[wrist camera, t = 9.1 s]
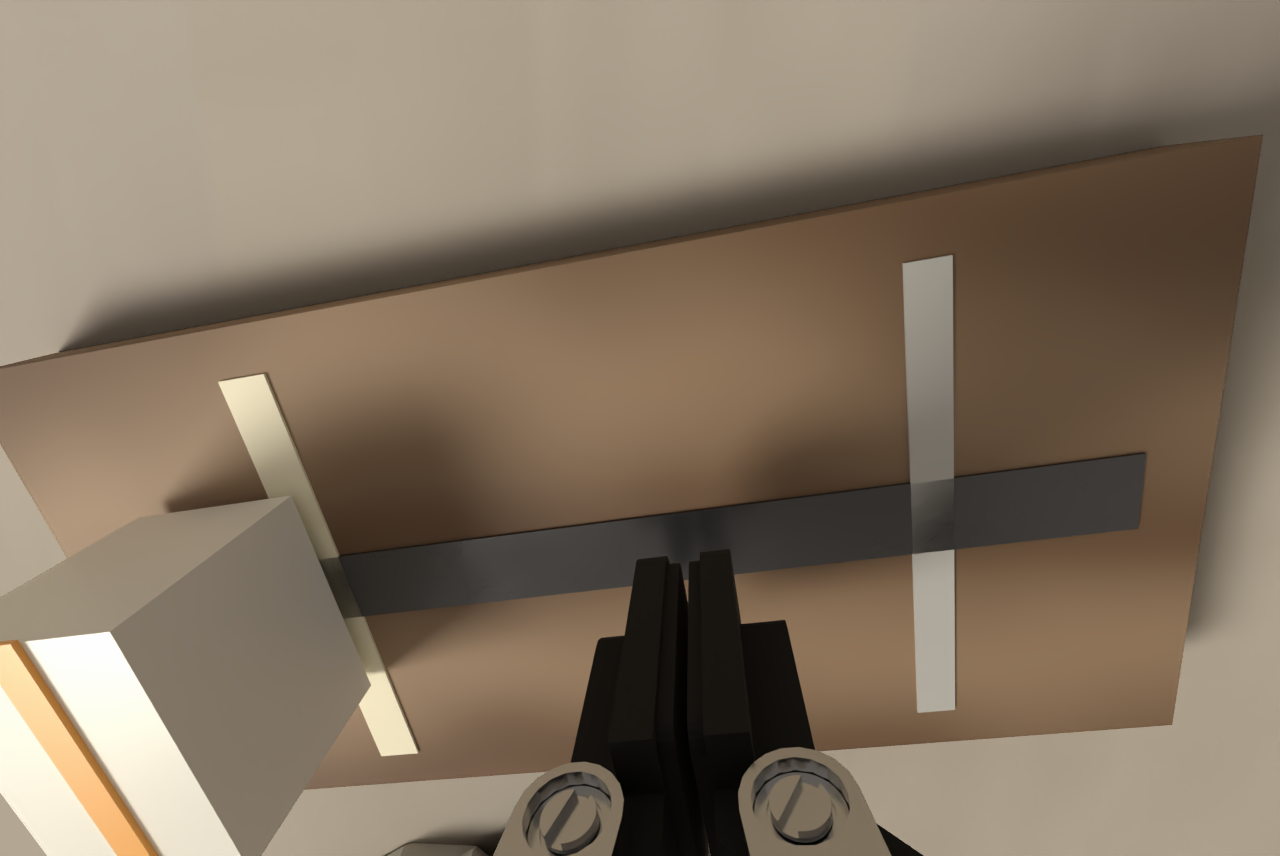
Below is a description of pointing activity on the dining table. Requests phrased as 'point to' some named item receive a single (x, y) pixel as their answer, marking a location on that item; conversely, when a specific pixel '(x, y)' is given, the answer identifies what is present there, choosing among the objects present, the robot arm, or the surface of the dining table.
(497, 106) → the dining table surface
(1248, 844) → the dining table surface
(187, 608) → the fader
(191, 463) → the brown board with strips
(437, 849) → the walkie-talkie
